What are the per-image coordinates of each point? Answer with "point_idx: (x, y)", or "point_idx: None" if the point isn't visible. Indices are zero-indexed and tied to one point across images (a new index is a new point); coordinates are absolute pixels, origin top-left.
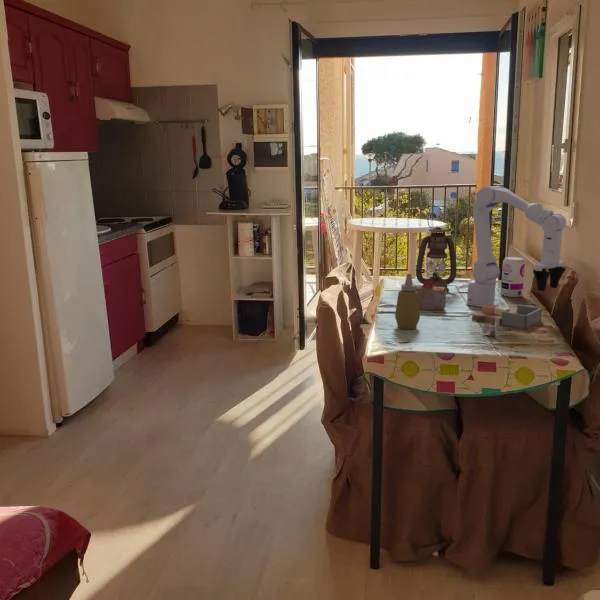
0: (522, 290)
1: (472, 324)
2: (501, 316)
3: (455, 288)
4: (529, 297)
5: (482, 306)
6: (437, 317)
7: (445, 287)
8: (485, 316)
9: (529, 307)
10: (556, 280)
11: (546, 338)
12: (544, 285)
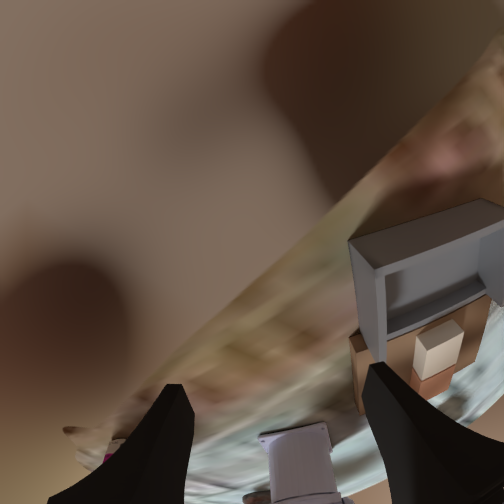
0: (111, 449)
1: (497, 318)
2: (465, 316)
3: (215, 495)
4: (102, 424)
5: (447, 388)
6: (472, 386)
7: (265, 501)
8: (481, 333)
9: (385, 320)
10: (164, 444)
11: (501, 94)
12: (415, 391)
